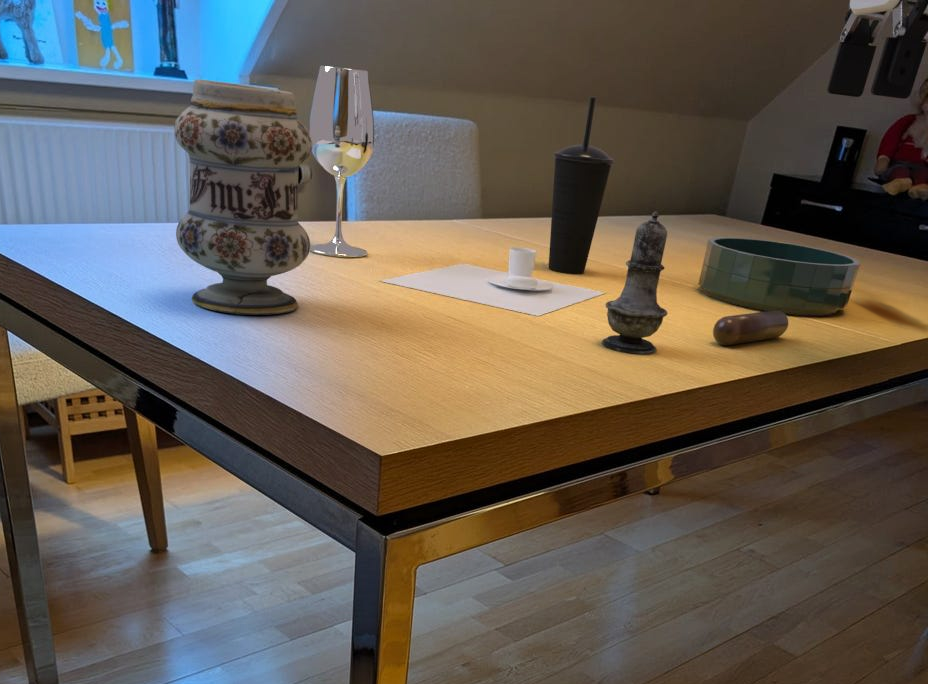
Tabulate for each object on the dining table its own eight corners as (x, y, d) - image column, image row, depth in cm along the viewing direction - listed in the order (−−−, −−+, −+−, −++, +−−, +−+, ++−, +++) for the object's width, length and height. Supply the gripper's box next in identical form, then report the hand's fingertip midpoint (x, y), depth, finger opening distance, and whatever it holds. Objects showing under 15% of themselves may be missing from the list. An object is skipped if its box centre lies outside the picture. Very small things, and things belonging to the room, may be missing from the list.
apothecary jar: (334, 312, 87) (342, 95, 78) (227, 324, 80) (220, 84, 70) (261, 286, 94) (259, 83, 85) (155, 294, 86) (140, 72, 77)
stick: (766, 334, 99) (772, 307, 98) (789, 339, 98) (796, 312, 96) (704, 343, 92) (710, 314, 91) (728, 349, 91) (734, 320, 89)
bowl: (815, 293, 126) (829, 247, 123) (866, 324, 110) (884, 271, 107) (683, 279, 125) (694, 232, 122) (716, 307, 109) (729, 254, 106)
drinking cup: (535, 271, 119) (560, 93, 108) (540, 262, 125) (563, 93, 115) (593, 278, 118) (624, 101, 108) (595, 269, 124) (624, 100, 114)
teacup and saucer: (532, 298, 103) (537, 259, 101) (471, 285, 106) (474, 247, 104) (563, 289, 110) (568, 252, 107) (504, 277, 112) (508, 241, 110)
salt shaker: (586, 342, 87) (610, 205, 81) (620, 335, 91) (645, 204, 85) (638, 357, 84) (667, 216, 78) (670, 350, 88) (701, 215, 82)
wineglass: (376, 252, 119) (385, 73, 108) (357, 260, 112) (366, 70, 102) (319, 243, 120) (323, 65, 109) (297, 251, 113) (300, 63, 103)
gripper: (1050, -178, 64) (954, 103, 73) (934, -129, 79) (866, 99, 87) (948, -193, 63) (864, 91, 72) (851, -142, 78) (790, 89, 87)
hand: (865, 95), depth 80 cm, fingers open, 9 cm apart
